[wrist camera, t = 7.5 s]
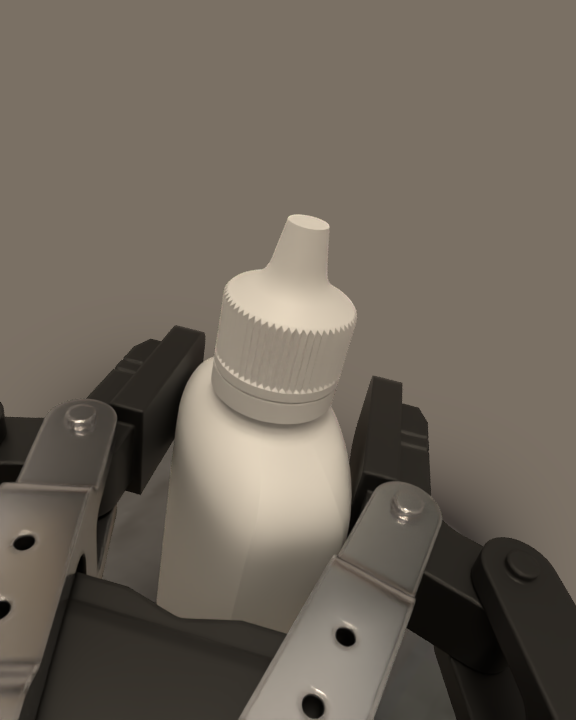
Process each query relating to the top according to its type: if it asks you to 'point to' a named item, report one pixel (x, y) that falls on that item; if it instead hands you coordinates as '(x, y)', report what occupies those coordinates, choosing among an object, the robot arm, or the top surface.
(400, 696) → the top surface
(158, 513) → the top surface
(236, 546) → the eye dropper bottle
